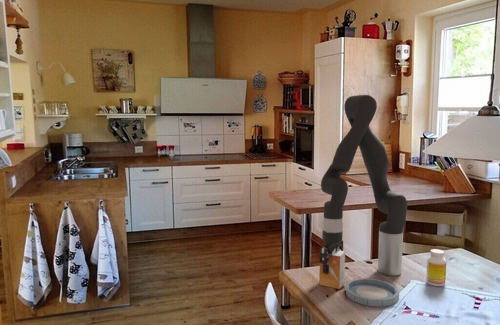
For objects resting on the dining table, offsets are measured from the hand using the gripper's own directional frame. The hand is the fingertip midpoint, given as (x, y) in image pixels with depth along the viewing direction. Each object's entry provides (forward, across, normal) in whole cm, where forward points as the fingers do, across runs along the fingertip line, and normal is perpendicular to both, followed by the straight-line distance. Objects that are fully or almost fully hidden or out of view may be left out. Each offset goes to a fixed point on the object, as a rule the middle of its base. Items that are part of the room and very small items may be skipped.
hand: (331, 270), depth 156 cm
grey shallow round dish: (+6, -1, +16) cm, 17 cm away
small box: (+6, 0, 0) cm, 6 cm away
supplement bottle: (+5, -26, +31) cm, 41 cm away
